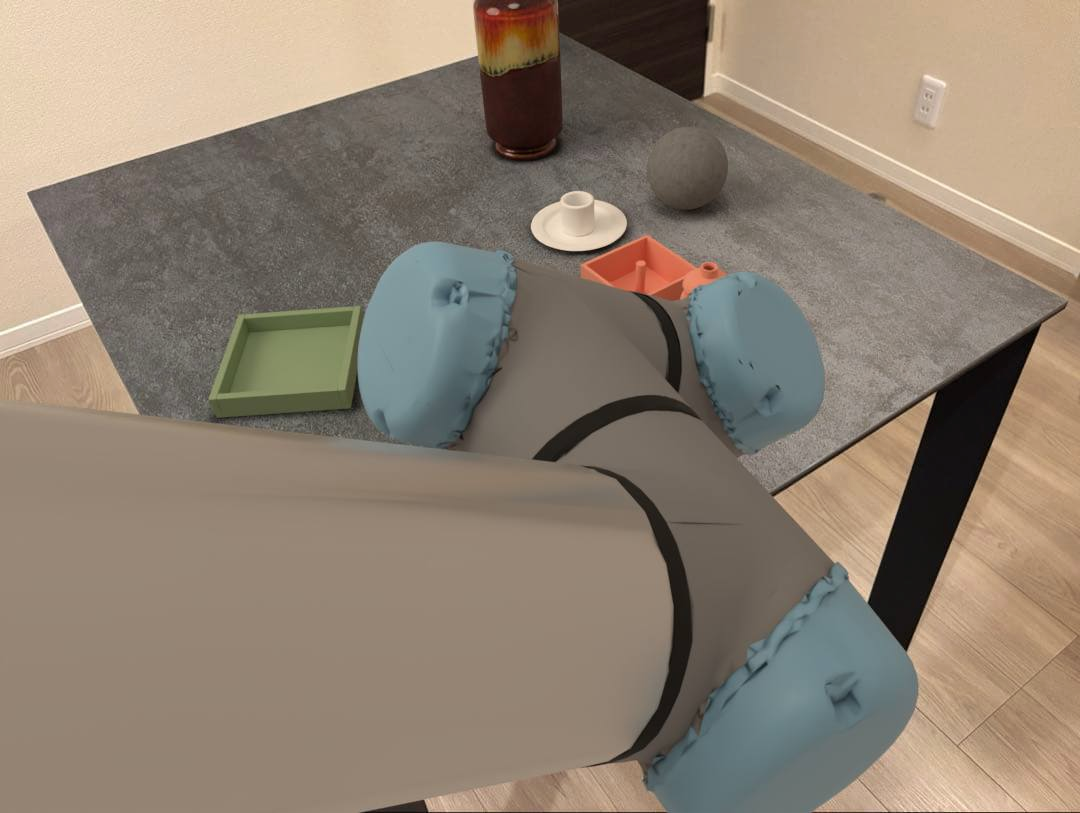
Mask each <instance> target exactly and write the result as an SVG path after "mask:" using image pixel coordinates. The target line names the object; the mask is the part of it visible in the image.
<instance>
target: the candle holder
mask: <svg viewBox="0 0 1080 813" xmlns="http://www.w3.org/2000/svg"><path fill="white" fill-rule="evenodd" d="M627 226H628V220H627V217H626V215H625V213H623V211H622V210H621V209H620V208H618V207H617V206H615V205H613V204H611V203H609V202H606V201H604V200H598V199H595V198H594V196H593V195H592V193H590V192H587V191H582V190H574V191H573V190H572V191H570V192H566V193H564V194H563V195H562V196H561V198H560V199H559V201H556V202H554V203H551V204H548V205H546V206H545V207H543V208H542V209H540V210H538V211H537V213H536V214H535V215H534V216H533V218H532V220H531V223H530V230H531V233H532V235H533V236H534V237H535V239H536V240H537V241H539V242H540V243H542V244H543V245H545V246H547V247H549V248H553V249H555V250H560V251H567V252H585V251H586V252H587V251H593V250H598V249H600V248H603V247H606V246H608V245H611V244H613V243H615V242H616V241H617V240H619V239H620V238H621V237H622V236H623V235H624V233H625V231H626V229H627Z"/></svg>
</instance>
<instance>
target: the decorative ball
mask: <svg viewBox="0 0 1080 813" xmlns="http://www.w3.org/2000/svg"><path fill="white" fill-rule="evenodd" d="M728 174H729V159H728V155H727V151H726V149H725V147H724V145H723V144H722V142H721V141H720V139H719V138H718V137H716V136H715V134H713V133H711V131H708V130H706V129H705V128H702V127H698V126H681V127H677V128H675V129H672V130H671V131H668V132H667V133H665V134H664V135H663V136H662V137H661V138H659V139H658V141H656V143H655V144H654V146H653V147H652V149H651V151H650V153H649V156H648V159H647V164H646V176H647V180H648V184H649V187H650V189H651V191H652V193H653V194H654V195H655V197H656V198H657V199H658V200H659V201H660V202H662V203H663V204H665V205H666V206H668V207H671V208H673V209H675V210H682V211H689V210H696V209H699V208H701V207H703V206H706V205H707V204H709V203H710V202H712V201H713V200H714V199H715V198H716V197H717V196H718V195H719V194H720V192H721V191H722V189H723V188H724V186H725V183H726V182H727V177H728Z"/></svg>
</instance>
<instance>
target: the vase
mask: <svg viewBox="0 0 1080 813" xmlns="http://www.w3.org/2000/svg"><path fill="white" fill-rule="evenodd" d="M472 5H473V7H472V8H473V21H474V30H475V31H474V32H475V41H476V49H477V50H476V51H477V58H478V60H477V61H478V67H479V77H480V87H481V95H482V104H483V112H484V121H485V128H486V133H487V136H488V137H489V139H490V140H492V141H493V142H494V143H495V144H494V150H495V152H496V154H498V156H500V157H501V158H503V159H506V160H510V161H516V162H528V161H535V160H540V159H542V158H545V157H547V156H549V155H551V154H552V153H553V152H554V151H555V150H556V148H557V145H558V142H557V137H558V136H559V135H560V134H561V132H562V129H563V92H562V91H563V90H562V65H561V63H562V62H561V42H560V41H561V39H560V37H561V36H560V18H559V17H560V16H559V2H558V0H474V1H473V4H472Z"/></svg>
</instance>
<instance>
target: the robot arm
mask: <svg viewBox="0 0 1080 813" xmlns="http://www.w3.org/2000/svg"><path fill="white" fill-rule="evenodd" d="M727 274H728V273H727ZM363 316H364V319H363V323H362V328H361V333H360V339H359V346H358V365H357V367H358V371H357V380H358V381H357V382H358V389H359V395H360V398H361V401H362V404H363V407H364V410H365V412H366V414H367V416H368V418H369V420H370V421H371V423H372V424H373V425H374V426H375V428H376V429H377V430H378V431H379V432H382V433H384V435H386V436H387V437H388V438H389V437H390V438H391V439H392V440H394V441H397V442H401V443H406V444H400V443H390V442H384V441H374V440H364V439H356V438H348V437H339V436H329V435H323V434H314V433H313V434H312V433H304V432H296V431H288V430H287V431H285V430H277V429H270V428H269V429H268V428H260V427H252V426H243V425H236V424H235V425H234V424H226V423H217V422H209V421H199V420H191V419H181V418H174V417H164V416H156V415H147V414H138V413H131V412H130V413H129V412H122V411H112V410H105V409H96V408H95V409H94V408H86V407H79V406H69V405H61V404H53V403H43V402H35V401H25V400H17V399H9V398H0V813H365V812H369V811H374V810H379V809H380V810H381V809H385V808H390V807H394V806H399V805H405V804H409V803H413V802H420V801H425V800H429V799H433V798H439V797H444V796H449V795H453V794H458V793H463V792H468V791H473V790H478V789H483V788H487V787H488V788H489V787H493V786H498V785H503V784H508V783H512V782H517V781H522V780H523V781H524V780H528V779H532V778H533V779H534V778H537V777H542V776H548V775H551V774H552V775H553V774H557V773H562V772H567V771H572V770H576V769H583V768H593V767H598V766H603V765H608V764H622V763H627V762H635V761H636V762H637V763H638V765H639V767H640V768H641V770H642V776H643V779H642V780H641V782H642V784H643V786H644V788H645V789H646V791H647V792H651V793H653V794H654V796H655V797H656V799H657V801H659V803H660V805H661V806H662V807H663V808H664V810H665V812H666V813H813V812H814V811H816V810H818V809H819V808H821V806H823V805H824V804H826V803H827V802H829V801H830V800H831V799H832V798H834V797H835V796H837V795H838V794H840V793H841V792H843V791H844V790H845V789H846V788H848V787H849V786H850V785H851V784H852V783H854V782H855V781H856V780H857V779H858V778H860V777H861V776H862V775H863V774H864V773H865V772H866V771H868V770H869V769H870V768H871V767H872V766H873V765H874V764H875V763H876V762H877V761H878V760H880V759H881V757H882V756H884V754H885V753H887V751H888V750H889V749H890V748H891V747H892V746H893V745H894V744H895V743H896V741H897V740H898V739H899V737H900V736H901V735H902V734H903V732H904V731H905V729H906V727H907V726H908V724H909V722H910V721H911V719H912V716H913V714H914V712H915V709H916V707H917V702H918V698H919V686H920V685H919V678H918V674H917V671H916V668H915V664H914V662H913V660H912V659H911V657H910V656H909V654H908V652H907V651H906V650H905V649H904V647H903V646H902V645H901V643H900V642H899V641H898V640H897V639H896V637H895V636H894V635H893V633H892V632H891V631H890V629H889V628H888V627H887V626H886V624H885V623H884V622H883V621H882V620H881V618H880V616H878V615H877V613H876V612H875V610H873V608H872V607H871V606H870V604H869V603H868V602H867V601H866V600H865V598H864V597H863V595H861V593H860V592H859V590H858V589H857V588H856V587H855V586H854V584H853V583H852V582H851V581H850V576H849V572H848V570H847V569H846V568H845V567H844V566H843V565H842V564H841V563H840V562H839V561H836V562H834V560H832V558H831V557H830V556H829V555H827V553H826V552H825V551H824V550H823V549H822V548H821V547H820V546H819V544H818V543H816V541H815V540H814V539H813V538H812V537H811V536H810V535H809V534H808V533H807V532H806V530H805V529H804V528H803V527H802V526H801V525H800V524H799V523H798V522H797V521H796V520H795V519H794V518H793V517H792V516H791V515H790V513H788V511H787V510H786V509H785V508H784V507H783V506H782V505H781V504H780V503H779V502H778V500H776V498H775V497H774V496H773V495H772V494H771V493H770V492H769V491H768V490H767V488H765V487H764V486H763V485H762V483H761V482H760V481H759V480H758V479H757V478H756V477H755V475H753V473H751V471H749V470H748V468H747V467H746V466H745V465H744V464H743V463H742V462H741V461H740V460H739V457H742V456H744V455H746V456H749V457H751V456H754V455H757V454H758V453H759V452H760V451H762V449H764V448H766V447H769V446H770V445H772V444H774V443H776V442H778V441H780V440H782V439H784V438H786V437H787V436H788V437H789V436H790V435H792V434H794V433H796V432H797V431H800V430H802V429H803V428H805V427H806V426H808V425H809V424H810V423H811V422H813V420H814V418H815V417H816V416H817V415H818V413H819V410H820V409H821V408H822V404H823V401H824V397H825V390H826V374H825V373H826V372H825V365H824V362H823V358H822V355H821V352H820V348H819V345H818V339H817V338H816V335H815V333H814V331H813V329H812V327H811V325H810V323H809V321H808V319H807V318H806V316H805V314H804V313H803V311H802V309H801V308H800V306H798V304H797V302H795V300H794V299H793V298H792V296H790V295H789V294H788V292H786V291H785V290H784V289H783V288H782V287H781V286H779V284H777V283H776V282H774V281H773V280H771V279H770V278H768V277H766V276H764V275H761V274H759V273H756V272H751V271H743V270H742V271H737V272H731V273H729V274H728V275H725V276H723V277H721V278H719V279H717V280H714V281H712V282H710V283H708V284H706V285H701V284H700V285H699V286H697V287H696V288H694V289H693V290H692V293H690V294H689V295H688V296H687V297H685V298H684V299H681V300H673V301H669V300H665V299H662V298H658V297H655V296H652V295H648V294H645V293H641V292H635V291H625V290H622V289H619V288H615V287H612V286H608V285H605V284H602V283H598V282H595V281H591V280H588V279H585V278H581V276H577V275H574V274H571V273H567V272H564V271H561V270H558V269H554V268H550V267H548V266H544V265H541V264H537V263H534V262H530V261H527V260H524V259H521V258H517V257H514V256H513V254H512V252H509V251H505V250H500V249H497V250H495V251H490V250H484V249H479V248H475V247H469V246H465V245H459V244H454V243H449V242H445V241H438V240H437V241H436V240H435V241H434V240H433V241H425V242H421V243H418V244H415V245H413V246H412V247H410V248H408V249H407V250H405V251H404V252H402V253H401V254H400V255H398V256H397V257H396V258H395V259H394V260H393V261H392V262H391V263H390V264H389V265H388V266H387V268H385V271H384V272H383V273H382V275H381V276H380V279H379V280H378V282H377V284H376V286H375V289H374V291H373V294H372V295H371V298H370V299H369V303H368V305H367V307H366V308H365V312H364V314H363ZM408 444H409V445H408ZM410 444H411V445H410Z"/></svg>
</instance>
